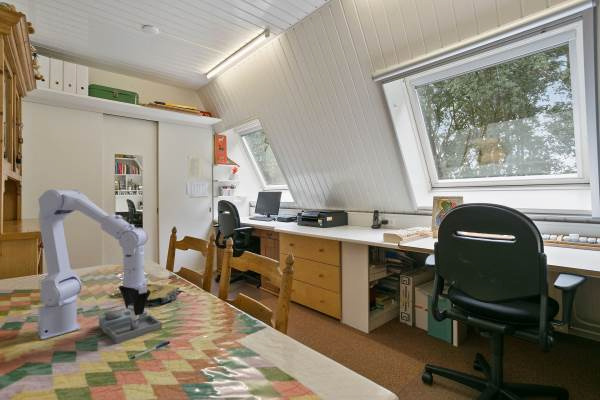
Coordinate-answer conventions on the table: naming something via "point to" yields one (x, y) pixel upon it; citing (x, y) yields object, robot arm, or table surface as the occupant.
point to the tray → (123, 330)
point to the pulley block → (161, 294)
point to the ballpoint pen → (152, 349)
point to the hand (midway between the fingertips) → (134, 310)
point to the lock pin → (133, 318)
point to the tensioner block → (116, 318)
